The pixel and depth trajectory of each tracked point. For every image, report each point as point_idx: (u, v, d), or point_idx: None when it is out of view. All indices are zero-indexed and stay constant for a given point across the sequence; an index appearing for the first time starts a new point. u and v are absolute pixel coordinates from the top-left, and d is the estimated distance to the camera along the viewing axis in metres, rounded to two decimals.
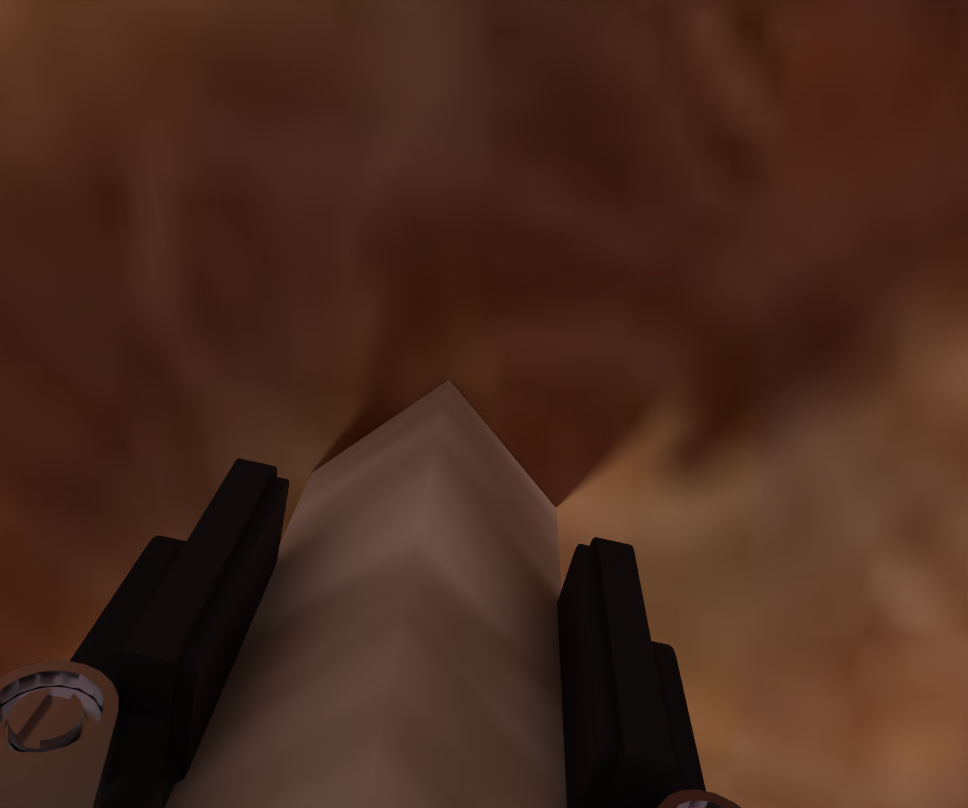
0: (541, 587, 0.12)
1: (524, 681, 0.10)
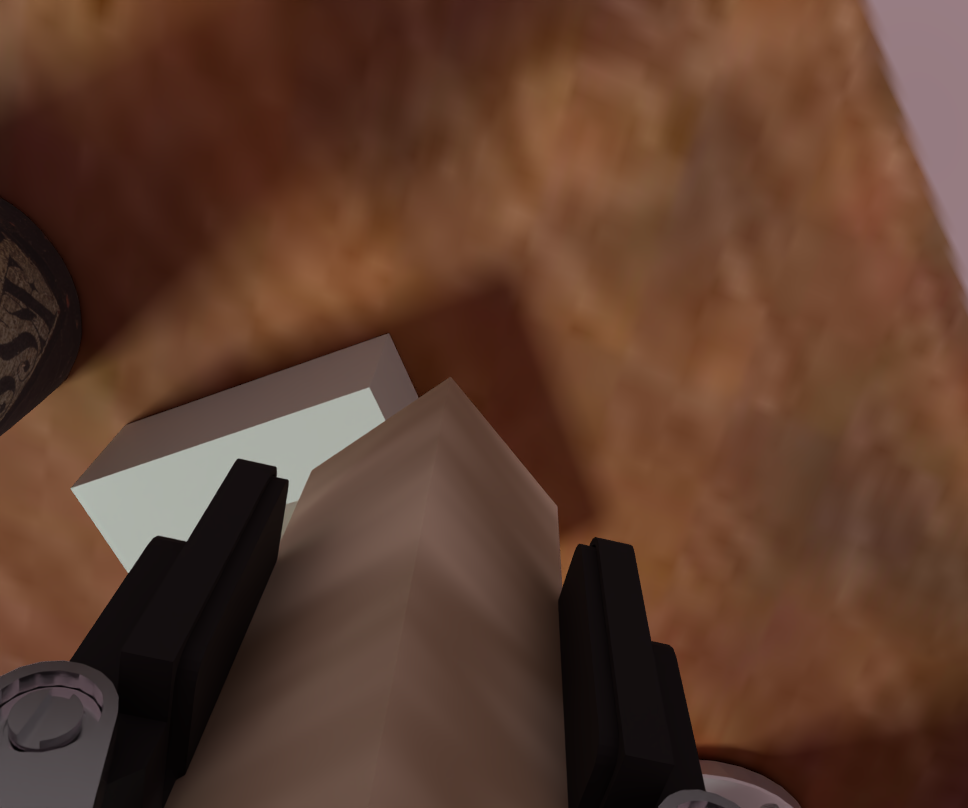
0: (543, 586, 0.12)
1: (527, 678, 0.10)
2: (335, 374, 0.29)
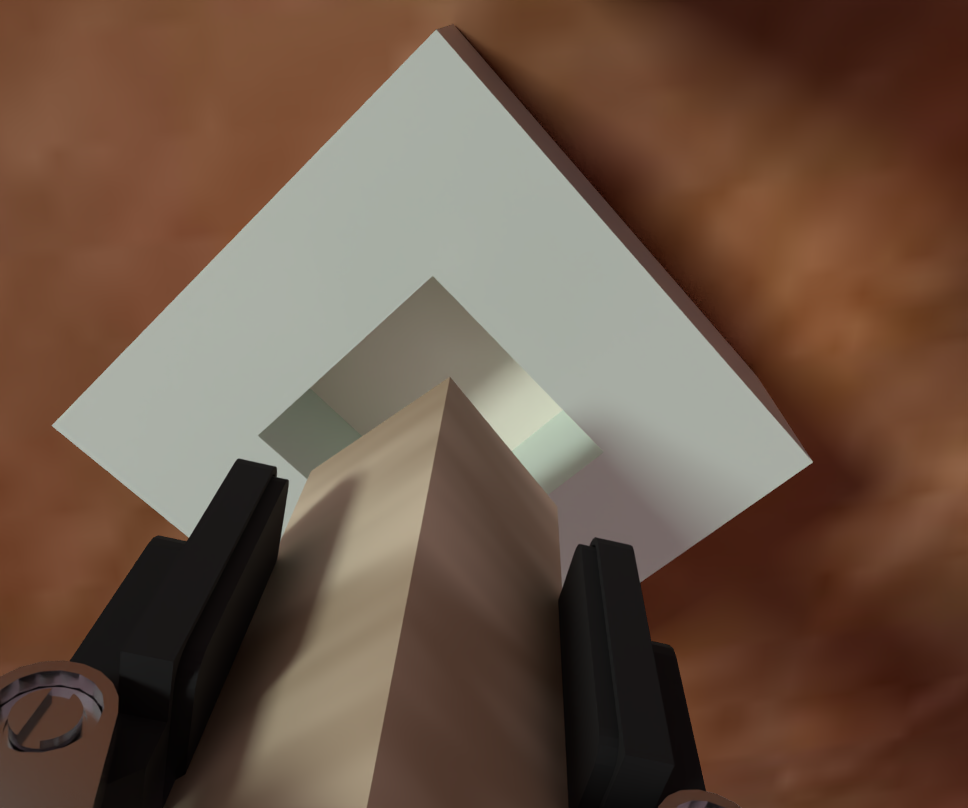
0: (543, 586, 0.12)
1: (526, 679, 0.10)
2: (740, 366, 0.19)
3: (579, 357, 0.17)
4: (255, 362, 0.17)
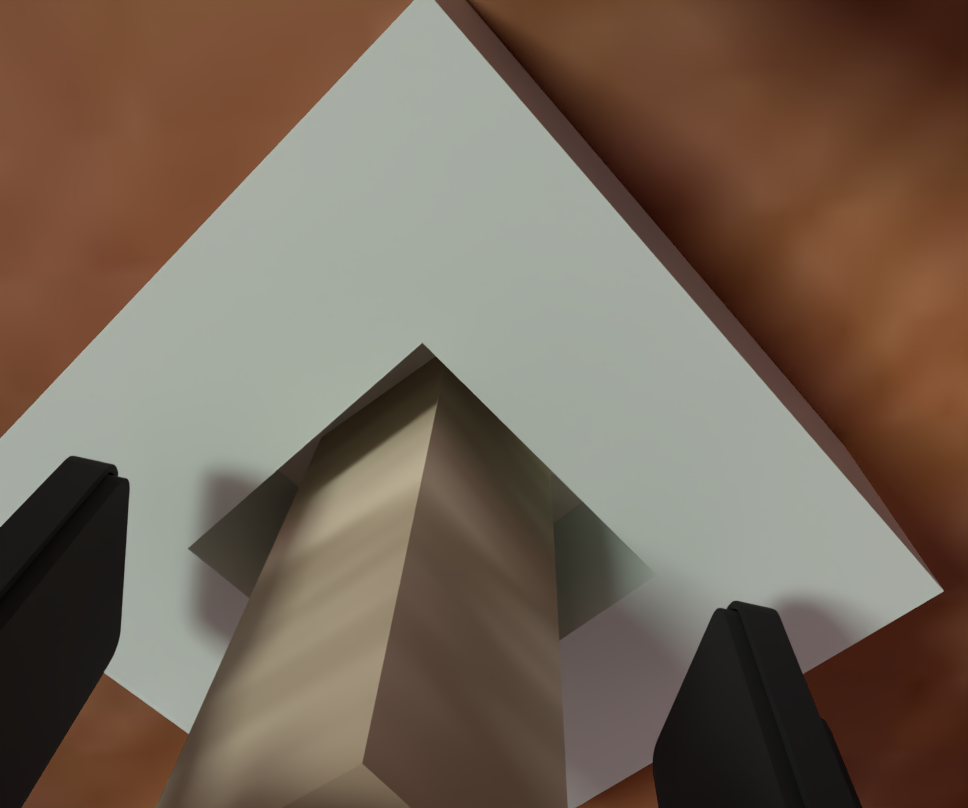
0: (536, 533, 0.14)
1: (519, 607, 0.11)
2: (835, 448, 0.14)
3: (627, 452, 0.12)
4: (180, 455, 0.13)
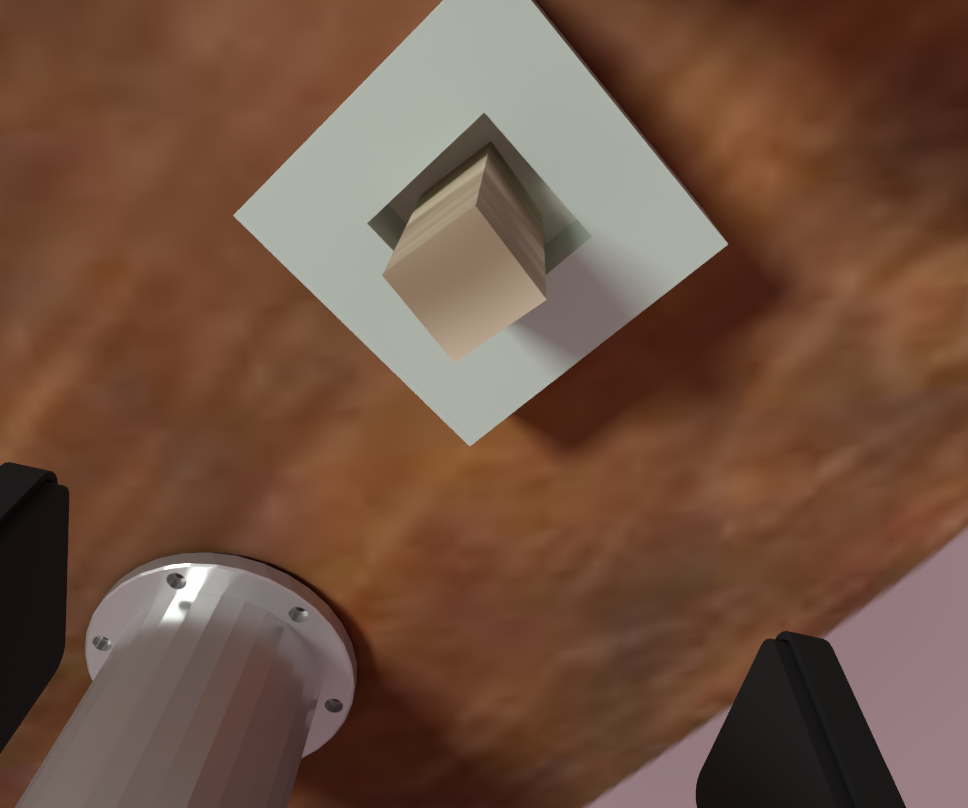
0: (534, 221, 0.28)
1: (526, 229, 0.26)
2: (685, 189, 0.29)
3: (576, 168, 0.27)
4: (368, 171, 0.27)
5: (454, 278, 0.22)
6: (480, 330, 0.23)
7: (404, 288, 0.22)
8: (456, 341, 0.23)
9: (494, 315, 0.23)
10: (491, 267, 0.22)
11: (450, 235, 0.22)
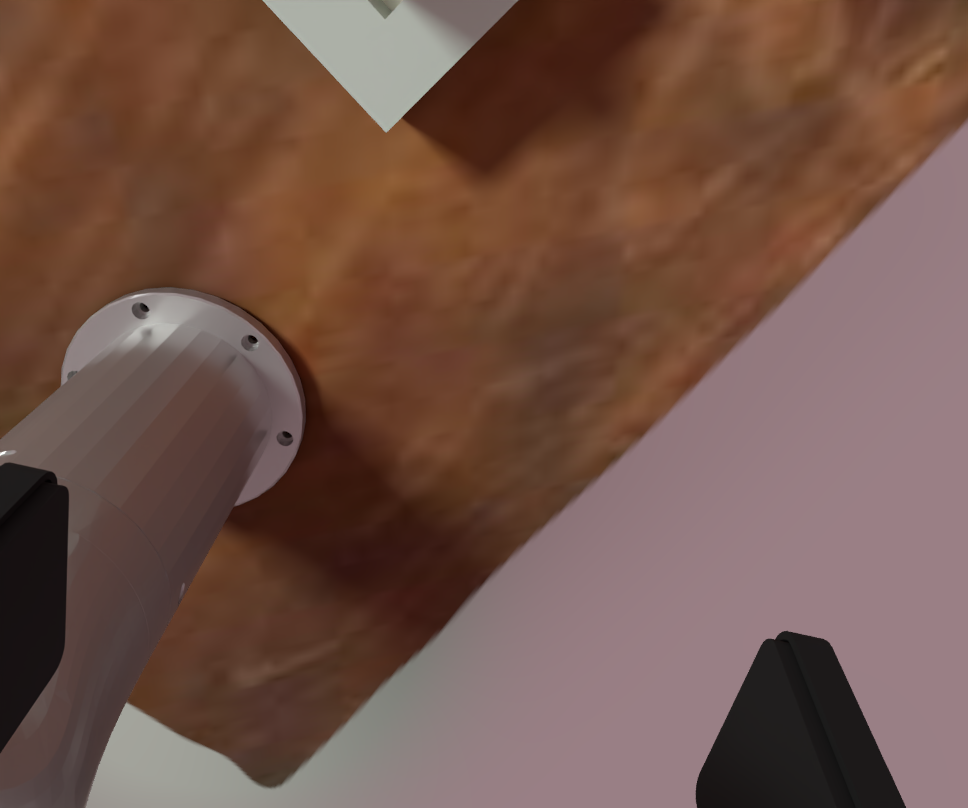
0: None
1: None
2: None
3: None
4: None
5: None
6: None
7: None
8: None
9: None
10: None
11: None
